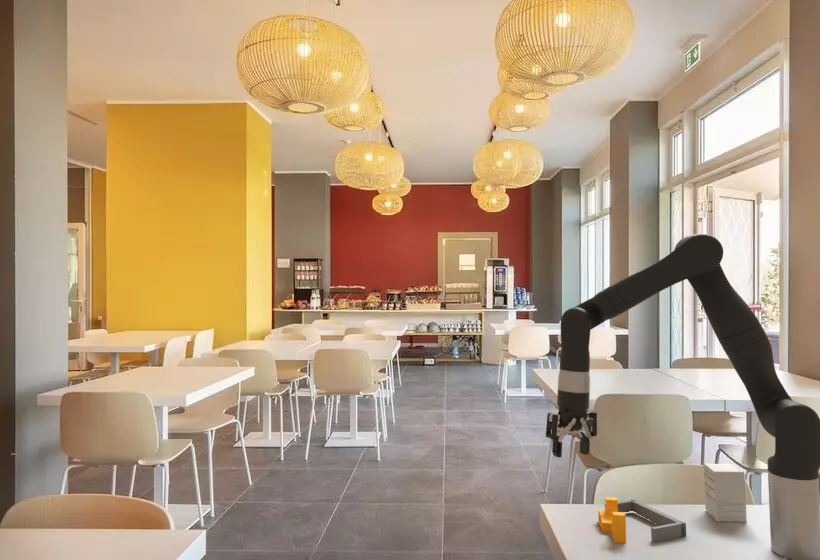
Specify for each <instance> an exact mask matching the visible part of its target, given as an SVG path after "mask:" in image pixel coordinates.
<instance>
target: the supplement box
mask: <svg viewBox="0 0 820 560" xmlns="http://www.w3.org/2000/svg"><path fill="white" fill-rule="evenodd" d="M745 479H746V478H745V472H744V471H743V470H742V469H740V468H738V467H737V466H735V465H734V464H732V463H703V480H704V482H703V483H704V486H703V487H704V507H705V509H706V510H707V511H708V512H709V513H710V514H711V515H712V516H713V517H714V518H715V519H716V520H720V521H719V522H733V521H738V522H739V523H741V522H742V523H747V522H748V521H747V519H748V518H747V501H746V483H745V482H746V481H745ZM706 510H705V511H706ZM707 511H706V512H707ZM708 512H707V513H708ZM709 513H708V514H709ZM710 514H709V515H710ZM711 515H710V516H711ZM712 516H711V517H712ZM713 517H712V518H713ZM714 518H713V519H714ZM715 519H714V520H715ZM716 520H715V521H716ZM738 522H737V523H738Z"/></svg>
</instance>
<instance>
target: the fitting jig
mask: <svg viewBox="0 0 820 560" xmlns="http://www.w3.org/2000/svg"><path fill="white" fill-rule="evenodd" d="M617 503H618V512H629V511H634V512H636V513H637V514H639V515H641V516H643V517H645V518H646V519H649V520H650V521H652V522H654V523H656V524H658V525H659V526H658V525H656V524H655V525H656V526H652V527H650V531H651V535H650V536H651V538H650V539H651V542H653V543H657V542H662V541H667V540H672V539H673V540H674V539H678V538H683V537H686V536H687V523H686V522H684V521H682V520H680V519H678V518H675V517H674V516H671V515H669V514H667V513H666V512H665V513H664V512H663V511H660V510H658V509H656V508H654V507H652V506H649V505H647V504H645V503H643V502H640V501H638V500H636V499H629V500H623V501H617ZM604 510H606V506H605V505H604ZM646 519H645V520H646ZM650 521H649V522H650ZM652 522H651V523H652ZM654 523H653V524H654Z"/></svg>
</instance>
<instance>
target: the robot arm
mask: <svg viewBox="0 0 820 560" xmlns="http://www.w3.org/2000/svg"><path fill="white" fill-rule="evenodd" d="M723 256H724V248H723V245H722V242H720V241H719V239H717V237H715V236H713V235H710V234H707V233H694V234H690V235H687V236H685V237H682V238H681V239H680V240H679V241H677V243H676V244H675V247H674V249H673V250H672V251H671V252H670V253H669V254H667V255H665V257H663V258H661V259H660V260H659V261H657V262H655V263H653V264H651V265H649V266H648V267H646V268H644V269H641V270H640V271H637V272H635V273H632V274H631V275H628V276H626V277H625V278H622V279H620V280H619V281H617V282H615V283H613V284H611V285H609V286H608V287H606V288H604V289H602V290H601V291H599V292H598V293H596V294H595V295H594V296H593V297H591V298H589V299H587V300H586V301H583V302H581V303H579V304H577V305H576V306H574V307H571V308H569V309H567V310H565V311H564V313H563V314H562V315H561V318H560V344H561V345H560V347H561V350H560V355H559V371H558V372H559V373H558V378H557V379H558V380H557V400H556V402H557V403H556V405H557V407H558V412H557V413H553V412H548V413H547V417H546V425H545V426H546V429H545V437H546V438H548V439H550V440H551V441H552V444H551V445H552V446H551V447H552V451H551V452H552V453H551V454H553V456H554V457H556V458H559V459H560V458H562V456H563V455H562V454H563V452H562V451H563V440H564V438H565V437H566V436H567V435H568V434H569V432H574V431H577V432H578V434H579V436H580V437H579V453H580V454H582V455H585V456H586V455H588V454H589V452H590V445H591V444H590V440H591V439H592V438H593V437H597V436H598V413H597V412H594V411H592V410H589V408H590V394H591V393H590V392H591V391H590V390H591V388H590V387H591V379H590V377H591V376H590V369H591V367H590V364H591V363H590V360H591V355H590V353H591V352H590V340H591V331H592V330H593V329H594V328H596V327H598V326H600V325H601V324H603V323H604V322H605V321H608V320H611V319H614V318H616V317H618V316H619V315H621V314H624V313H625V312H627V311H629V310H631V309H633V308H634V307H636V306H637V305H639V304H641V303H644V301H647V299H650V298H651V297H652V296H655V295H656V294H659V293H661V292H662V291H664V290H665V289H667V288H669V287H672V286H674V285H675V284H678V283H680V282H683V281H686V280H687V281H688V282H689V284H690V286H691V287H692V289H693V290H694V291H695V294H696V295H697V298H698V299H699V301H700V303H701V306H702V308H703V310H704V313H705V314H706V316H707V320H708V321H709V323H710V326H711V327H712V330H713V332H714V334H715V336H716V338H717V340H718V342H719V343H720V346H721V347H722V349H723V351H724V352H725V354H726V356H727V358H728V359H729V361H730V363H731V365H732V367H733V368H734V370H735V372H736V374H737V375H738V377H739V378H740V380H741V382H742V383H743V386H744V387H745V389H746V391H747V394H748V396H749V398H750V401H751V403H752V406H753V408H754V411H755V413H756V415H757V418H758V421H759V423H760V424H761V426H762V428H763V429H764V430H765V431H766V433H768V434H769V435H770V436H771V437H773V438H775V440H774V441H775V442H774V448H775V449H774V454H773V455H772V456H770V457H769V458H767V483H768V484H767V485H768V505H769V506H768V507H769V529H770V530H769V531H770V549H771V550H772V551H773V553H775V554H776V555H779V556H780V557H782V558H786V559H788V560H820V485H819V484H820V482H819V481H820V479H819V470H820V416H819V415H818V413H817V412H816V411H815V409H814V408H812V407H810V406H808V405H806V404H804V403H801V402H797V401H795V400H793V399H792V397H791V396H790V395H789V393H788V392H787V391H786V389H785V387H784V385H783V384H782V382H781V381H780V378H779V377H778V374H777V372H776V368H775V363H774V362H775V361H774V353H773V348H772V345H771V341H770V339H769V337H768V335H767V333H766V331H765V330H764V328H763V326H762V324H761V322H760V321H759V319H758V317H757V315H755V312H754V311H753V310H752V309H751V307H750V306H749V305H748V303H746V301H745V300H744V299H743V297H741V295H739V293H738V292H737V291H736V290H735V288H734V287H733V286H732V285H731V283H730V282H729V280H728V278H727V275H726V274H725V272H724V270H723V268H722V265H721V262H722V260H723V258H724V257H723Z"/></svg>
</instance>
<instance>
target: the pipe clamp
mask: <svg viewBox="0 0 820 560" xmlns="http://www.w3.org/2000/svg"><path fill="white" fill-rule="evenodd" d="M604 500H605V503H604V507H605V506H606V510H605V509H598V511H597V513H598V524H599V523H600V524H599V526H600V529H601V531H602V533H608V534H609V533H610V535H611V538H612V539H613V542H614V543H619V544H627V526H626V525H627V521H626V514H624V512H618V503H617V502H618V499H617V497H616V496H615V497H611V496H605V497H604Z"/></svg>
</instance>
